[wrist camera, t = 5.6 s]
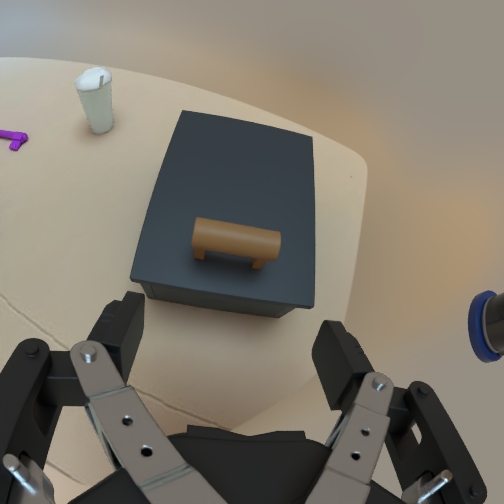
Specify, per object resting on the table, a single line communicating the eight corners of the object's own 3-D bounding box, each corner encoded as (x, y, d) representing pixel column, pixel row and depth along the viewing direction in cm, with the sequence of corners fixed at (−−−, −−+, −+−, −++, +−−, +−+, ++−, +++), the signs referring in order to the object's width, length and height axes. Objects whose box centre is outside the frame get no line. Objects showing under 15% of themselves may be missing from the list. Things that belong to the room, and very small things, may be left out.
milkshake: (98, 146, 32) (83, 85, 23) (81, 126, 33) (67, 69, 24) (127, 129, 34) (120, 67, 25) (109, 110, 34) (100, 53, 25)
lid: (310, 309, 21) (343, 291, 17) (131, 281, 19) (115, 254, 15) (309, 141, 28) (328, 106, 23) (181, 115, 26) (184, 74, 21)
